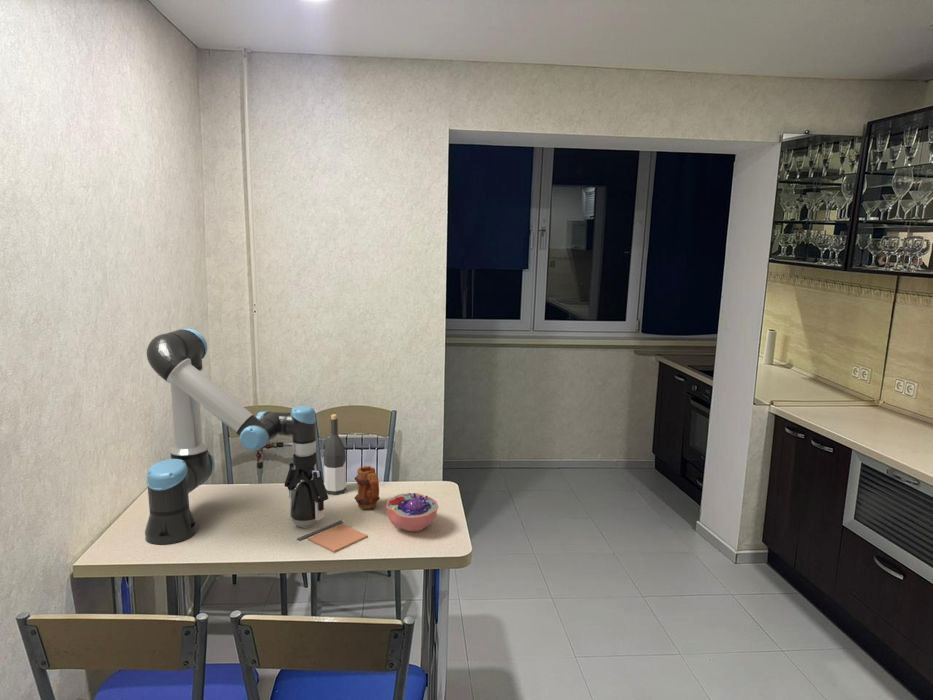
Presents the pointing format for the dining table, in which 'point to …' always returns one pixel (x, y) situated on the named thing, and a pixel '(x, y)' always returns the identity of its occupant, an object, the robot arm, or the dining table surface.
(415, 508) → the cell model
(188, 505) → the robot arm
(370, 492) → the mug
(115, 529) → the dining table surface
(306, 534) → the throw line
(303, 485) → the pump dispenser
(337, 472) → the wine bottle
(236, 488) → the dining table surface
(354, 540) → the mat
